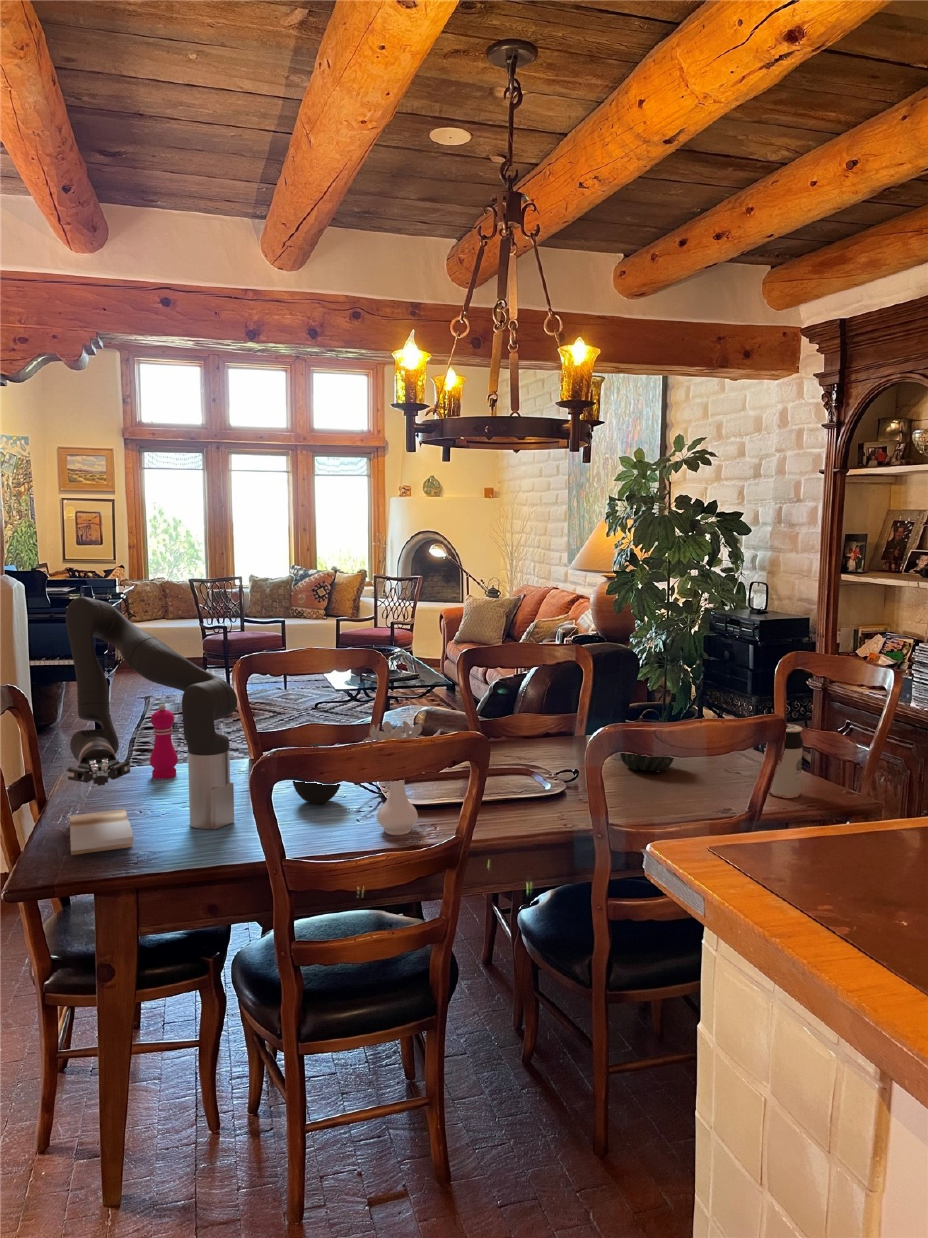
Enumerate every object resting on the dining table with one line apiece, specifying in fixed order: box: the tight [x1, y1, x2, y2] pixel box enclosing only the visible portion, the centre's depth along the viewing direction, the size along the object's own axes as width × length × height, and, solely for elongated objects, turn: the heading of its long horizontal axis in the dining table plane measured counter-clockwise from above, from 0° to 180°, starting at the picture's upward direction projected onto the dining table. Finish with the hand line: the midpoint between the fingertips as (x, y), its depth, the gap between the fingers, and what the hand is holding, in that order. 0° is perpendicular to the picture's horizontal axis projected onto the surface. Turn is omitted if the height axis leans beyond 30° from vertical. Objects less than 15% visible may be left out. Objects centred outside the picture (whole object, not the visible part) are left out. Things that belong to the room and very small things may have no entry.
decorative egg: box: [292, 743, 342, 805], centre depth 217 cm, size 12×12×15 cm
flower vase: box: [360, 720, 442, 836], centre depth 199 cm, size 13×18×25 cm
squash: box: [619, 721, 675, 772], centre depth 250 cm, size 14×15×15 cm
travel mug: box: [771, 723, 804, 796], centre depth 228 cm, size 8×8×18 cm
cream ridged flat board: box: [69, 808, 133, 856], centre depth 195 cm, size 20×12×2 cm, turn 25°
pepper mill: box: [149, 703, 179, 780], centre depth 238 cm, size 7×7×20 cm
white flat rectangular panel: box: [69, 819, 135, 852], centre depth 186 cm, size 1×12×14 cm
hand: (101, 780), depth 179 cm, fingers closed
